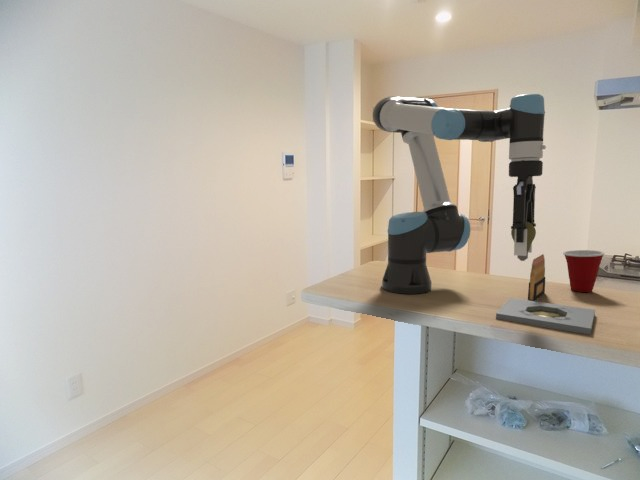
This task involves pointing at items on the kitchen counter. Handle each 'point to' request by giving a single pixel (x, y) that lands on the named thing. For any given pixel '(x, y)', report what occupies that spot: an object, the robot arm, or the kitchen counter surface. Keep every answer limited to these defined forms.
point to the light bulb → (530, 237)
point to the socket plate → (548, 315)
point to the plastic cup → (583, 268)
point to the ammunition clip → (537, 279)
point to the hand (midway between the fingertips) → (523, 253)
